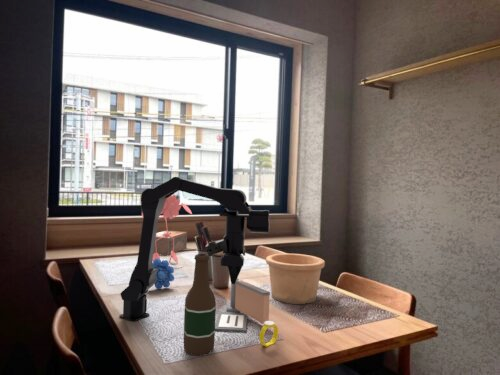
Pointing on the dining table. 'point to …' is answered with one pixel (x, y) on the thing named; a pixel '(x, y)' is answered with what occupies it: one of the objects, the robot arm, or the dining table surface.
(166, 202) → the pink tall branching piece
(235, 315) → the label board
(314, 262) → the pottery
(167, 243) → the tissue box cover
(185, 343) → the beer bottle
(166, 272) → the grapes
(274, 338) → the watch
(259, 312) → the tan grey flat panel
